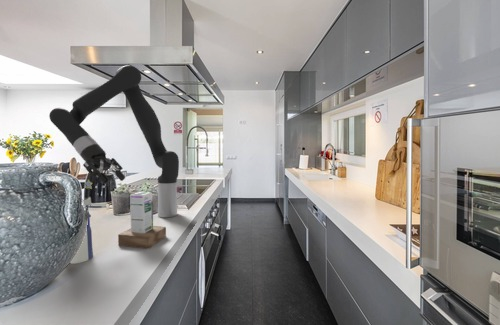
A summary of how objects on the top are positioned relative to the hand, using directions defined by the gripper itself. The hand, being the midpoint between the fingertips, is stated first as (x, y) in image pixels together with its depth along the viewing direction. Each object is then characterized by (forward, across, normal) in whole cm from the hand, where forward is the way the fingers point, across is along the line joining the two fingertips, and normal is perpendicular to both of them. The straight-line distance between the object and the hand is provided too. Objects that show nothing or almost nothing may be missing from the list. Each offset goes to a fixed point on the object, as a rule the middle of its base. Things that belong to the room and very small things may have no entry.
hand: (116, 180), depth 98 cm
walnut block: (+24, 0, +8) cm, 25 cm away
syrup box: (+21, 0, +5) cm, 22 cm away
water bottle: (+16, -18, +16) cm, 29 cm away
